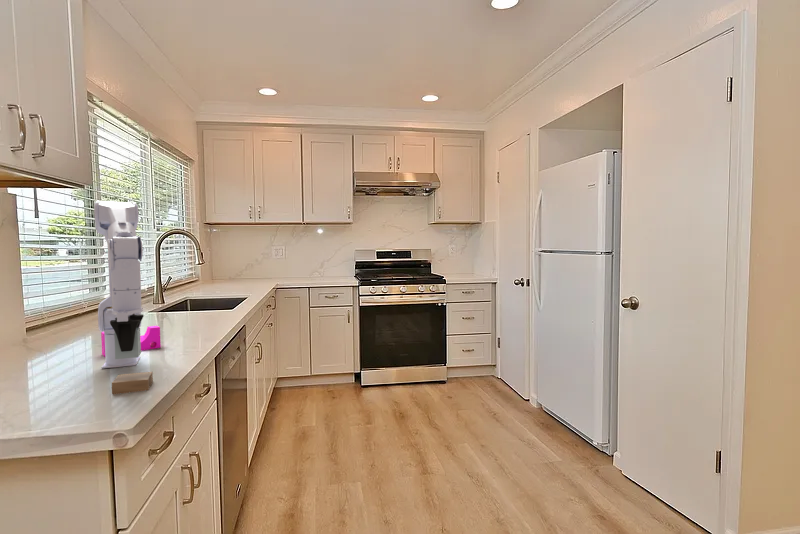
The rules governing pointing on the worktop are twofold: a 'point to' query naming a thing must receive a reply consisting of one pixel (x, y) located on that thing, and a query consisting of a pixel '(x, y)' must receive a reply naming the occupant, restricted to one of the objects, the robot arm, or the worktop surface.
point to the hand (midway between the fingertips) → (128, 348)
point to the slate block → (128, 354)
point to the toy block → (143, 339)
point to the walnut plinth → (132, 382)
